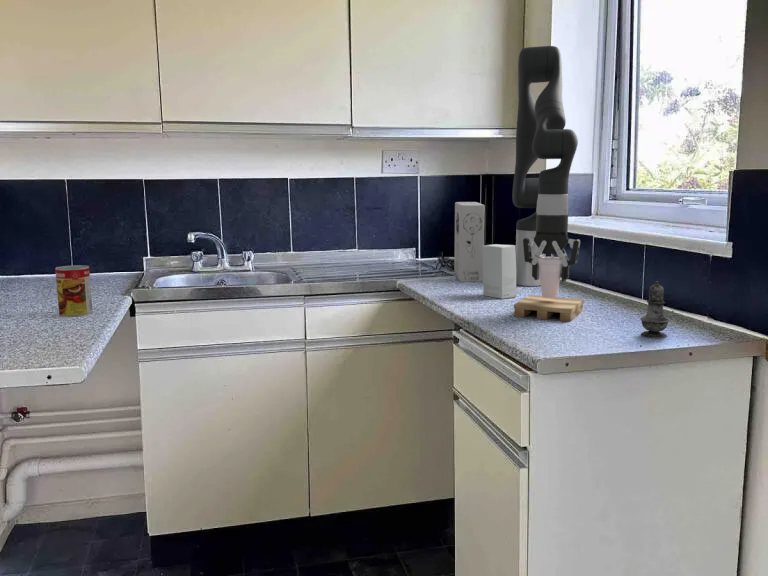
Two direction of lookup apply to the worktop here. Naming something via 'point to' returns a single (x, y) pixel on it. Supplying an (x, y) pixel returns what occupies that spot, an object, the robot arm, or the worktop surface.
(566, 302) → the tan wavy panel
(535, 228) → the robot arm
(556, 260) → the smoothie
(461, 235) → the cereal box
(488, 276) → the skincare box
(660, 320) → the salt shaker
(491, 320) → the worktop surface
